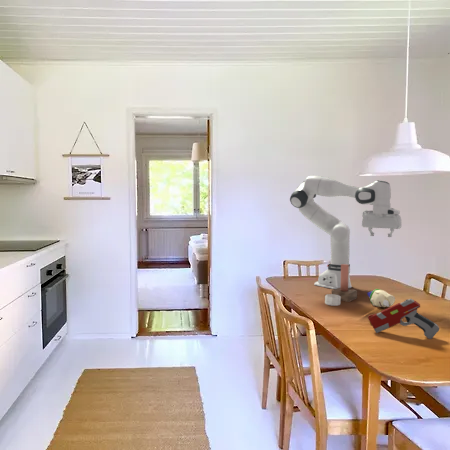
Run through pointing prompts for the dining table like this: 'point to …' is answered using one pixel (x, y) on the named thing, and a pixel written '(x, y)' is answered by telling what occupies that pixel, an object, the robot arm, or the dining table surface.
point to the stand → (346, 294)
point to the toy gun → (400, 311)
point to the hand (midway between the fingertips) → (380, 236)
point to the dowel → (344, 277)
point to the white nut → (332, 299)
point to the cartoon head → (381, 298)
